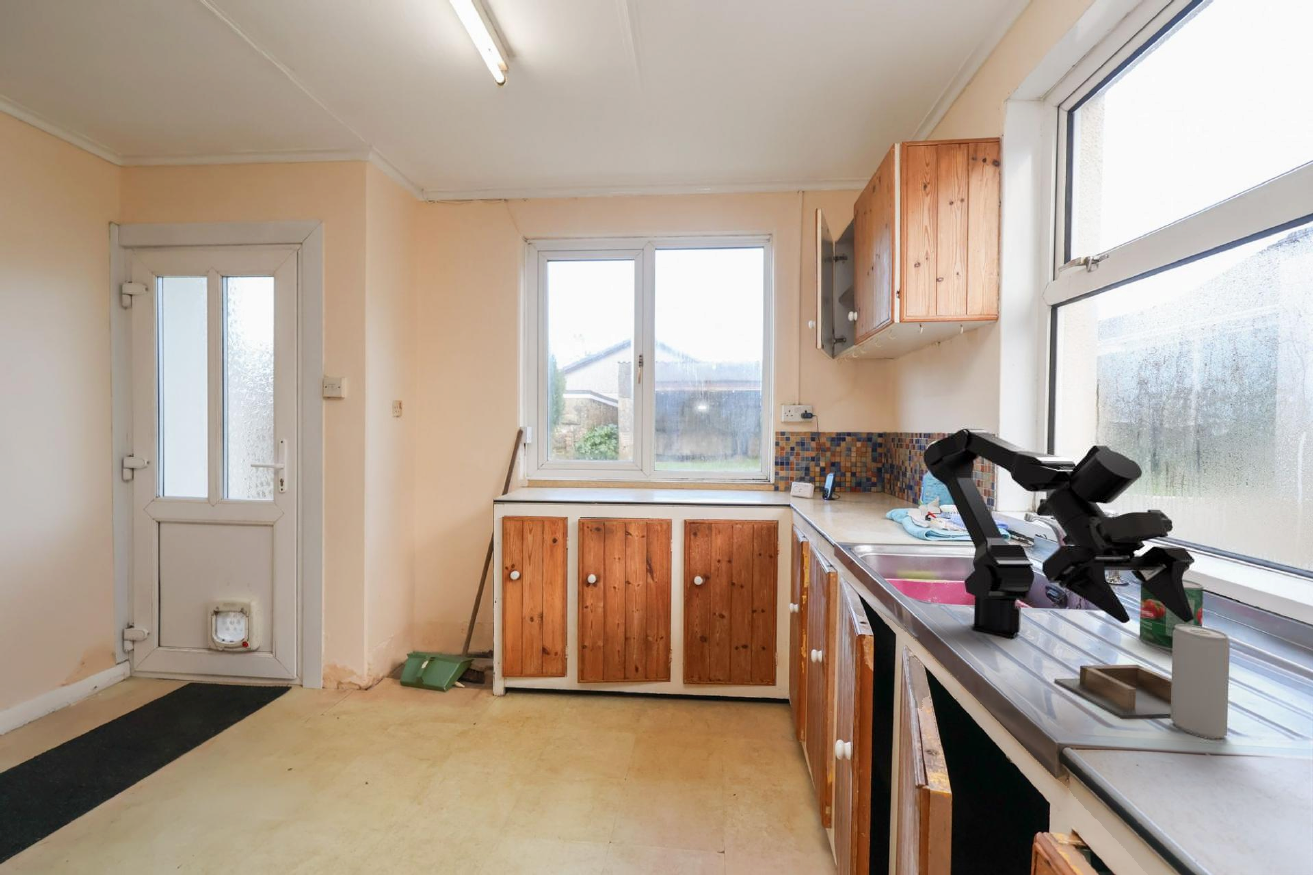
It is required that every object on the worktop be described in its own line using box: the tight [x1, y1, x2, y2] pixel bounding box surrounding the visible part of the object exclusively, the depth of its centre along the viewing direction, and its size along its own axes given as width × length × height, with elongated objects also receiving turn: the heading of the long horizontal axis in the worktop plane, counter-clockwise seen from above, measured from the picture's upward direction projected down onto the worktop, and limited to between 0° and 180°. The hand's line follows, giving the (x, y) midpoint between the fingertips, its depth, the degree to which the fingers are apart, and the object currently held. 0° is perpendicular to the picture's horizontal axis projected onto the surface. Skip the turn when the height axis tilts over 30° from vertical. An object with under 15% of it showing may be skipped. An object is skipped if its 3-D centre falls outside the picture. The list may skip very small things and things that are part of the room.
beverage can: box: [1169, 624, 1231, 740], centre depth 65 cm, size 5×5×12 cm
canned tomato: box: [1138, 578, 1204, 652], centre depth 93 cm, size 8×8×11 cm
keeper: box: [1053, 664, 1172, 719], centre depth 73 cm, size 10×14×3 cm
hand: (1158, 621), depth 70 cm, fingers open, 9 cm apart
